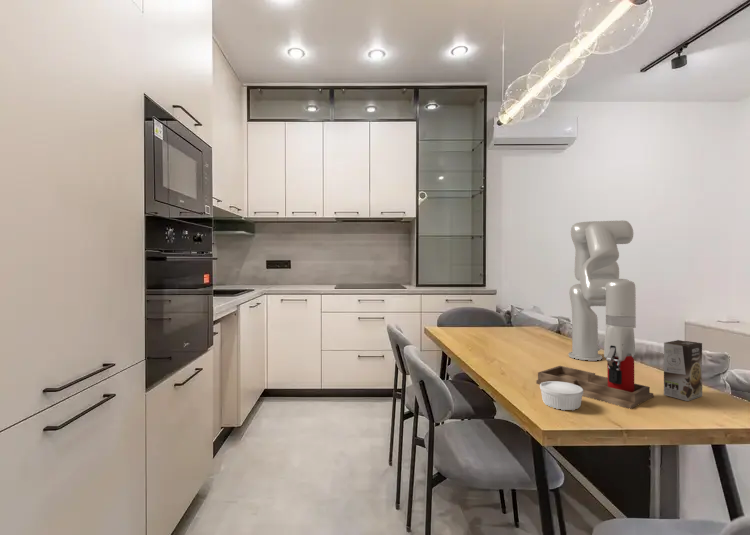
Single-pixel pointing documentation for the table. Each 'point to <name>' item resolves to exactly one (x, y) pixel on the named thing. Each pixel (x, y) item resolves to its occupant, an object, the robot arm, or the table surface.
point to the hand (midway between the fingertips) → (620, 380)
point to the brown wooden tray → (596, 386)
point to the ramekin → (561, 395)
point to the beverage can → (624, 375)
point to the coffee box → (683, 369)
